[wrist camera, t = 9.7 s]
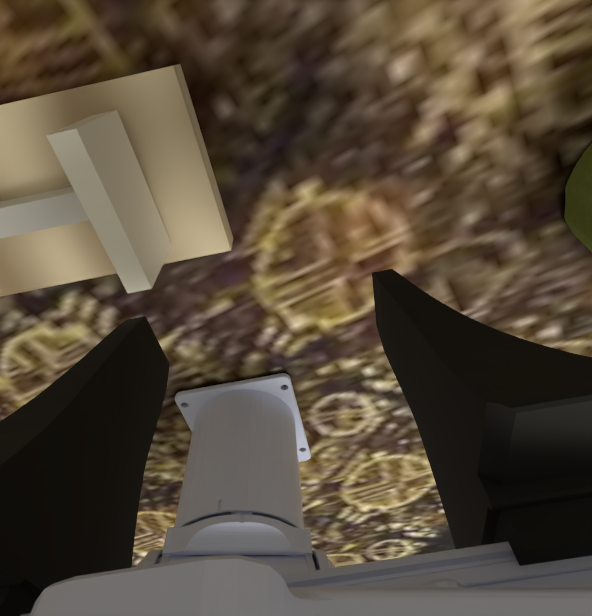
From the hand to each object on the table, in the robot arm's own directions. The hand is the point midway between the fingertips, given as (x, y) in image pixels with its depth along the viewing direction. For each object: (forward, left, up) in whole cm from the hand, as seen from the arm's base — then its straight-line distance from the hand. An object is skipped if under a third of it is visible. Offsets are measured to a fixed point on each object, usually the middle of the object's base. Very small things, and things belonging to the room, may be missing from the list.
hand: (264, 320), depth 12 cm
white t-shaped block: (+3, +9, -8) cm, 12 cm away
